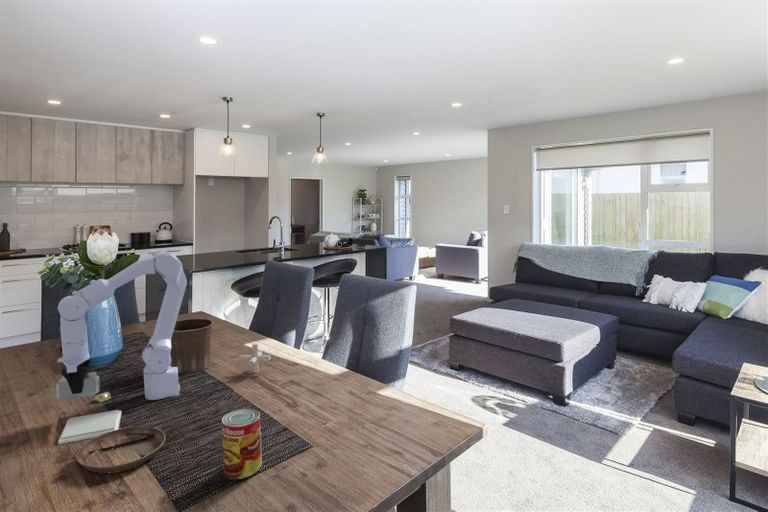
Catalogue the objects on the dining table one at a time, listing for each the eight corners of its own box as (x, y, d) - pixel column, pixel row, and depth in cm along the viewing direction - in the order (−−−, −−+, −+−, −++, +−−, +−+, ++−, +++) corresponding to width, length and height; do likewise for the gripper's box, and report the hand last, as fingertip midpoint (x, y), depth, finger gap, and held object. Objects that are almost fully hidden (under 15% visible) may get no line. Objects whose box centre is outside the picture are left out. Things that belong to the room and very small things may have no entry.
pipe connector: (266, 377, 150) (265, 348, 149) (236, 377, 150) (235, 348, 149) (274, 367, 160) (273, 339, 159) (246, 366, 160) (245, 339, 159)
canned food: (216, 471, 97) (214, 418, 95) (247, 455, 103) (245, 405, 102) (238, 485, 92) (235, 429, 91) (269, 467, 98) (267, 415, 97)
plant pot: (204, 377, 151) (201, 330, 149) (156, 377, 151) (153, 330, 149) (222, 360, 167) (220, 318, 165) (179, 360, 167) (177, 318, 165)
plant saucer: (178, 436, 112) (177, 424, 112) (143, 479, 95) (142, 465, 94) (106, 437, 112) (105, 426, 111) (57, 481, 94) (56, 467, 94)
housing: (100, 388, 125) (98, 371, 125) (98, 394, 121) (96, 376, 121) (60, 394, 121) (58, 377, 121) (57, 401, 117) (55, 383, 117)
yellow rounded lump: (110, 392, 131) (100, 396, 128) (111, 402, 131) (101, 406, 129) (104, 390, 132) (94, 394, 130) (104, 400, 133) (94, 404, 130)
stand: (121, 417, 122) (121, 408, 122) (117, 437, 111) (116, 427, 111) (68, 426, 117) (67, 417, 116) (58, 449, 106) (57, 439, 106)
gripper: (62, 335, 124) (66, 382, 126) (50, 350, 111) (55, 403, 113) (92, 332, 128) (95, 378, 129) (83, 346, 115) (88, 397, 116)
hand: (78, 389), depth 121 cm, fingers closed on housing, 4 cm apart
